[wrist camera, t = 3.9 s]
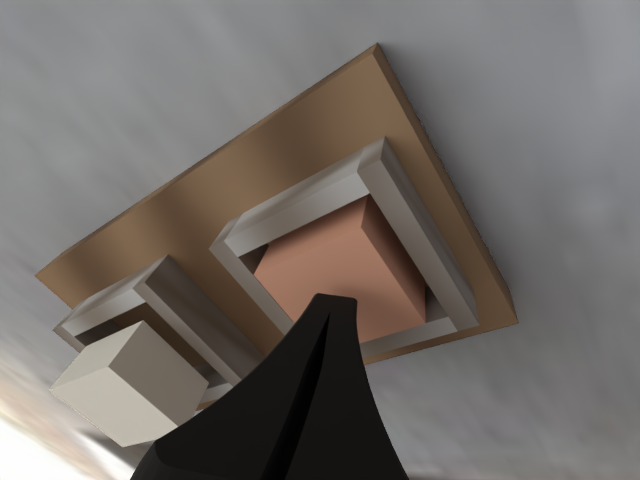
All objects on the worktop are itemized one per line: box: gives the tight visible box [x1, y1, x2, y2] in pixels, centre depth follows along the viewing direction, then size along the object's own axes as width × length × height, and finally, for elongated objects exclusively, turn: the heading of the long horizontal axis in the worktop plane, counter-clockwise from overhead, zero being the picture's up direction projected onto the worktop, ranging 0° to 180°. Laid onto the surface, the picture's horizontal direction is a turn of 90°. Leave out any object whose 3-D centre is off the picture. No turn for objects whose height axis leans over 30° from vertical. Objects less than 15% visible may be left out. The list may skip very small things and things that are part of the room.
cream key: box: [48, 320, 209, 447], centre depth 19 cm, size 4×4×2 cm
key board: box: [35, 43, 519, 411], centre depth 19 cm, size 20×12×4 cm, turn 124°
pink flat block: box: [254, 193, 426, 344], centre depth 15 cm, size 4×4×2 cm
